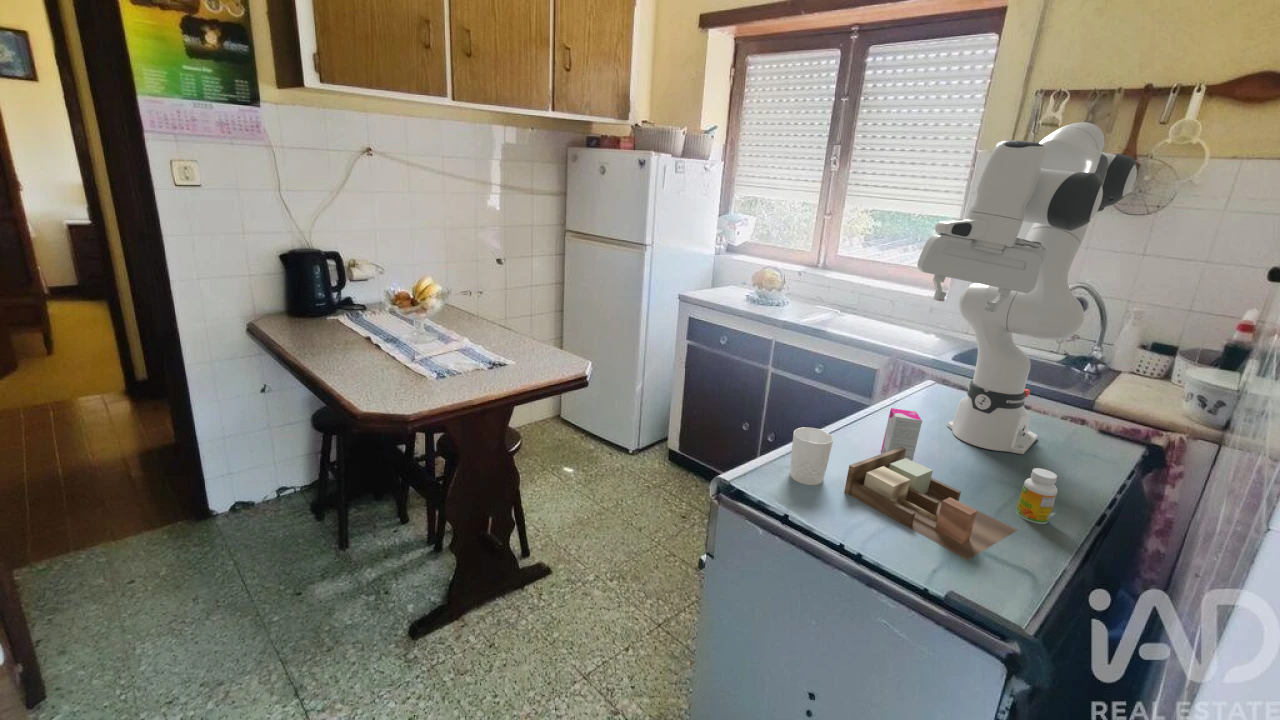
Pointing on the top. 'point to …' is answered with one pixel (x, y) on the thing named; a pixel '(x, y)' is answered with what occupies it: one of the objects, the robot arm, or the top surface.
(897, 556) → the top surface
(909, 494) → the walnut rack
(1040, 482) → the supplement bottle
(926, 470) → the sage block
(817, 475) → the white cup
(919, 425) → the supplement box
